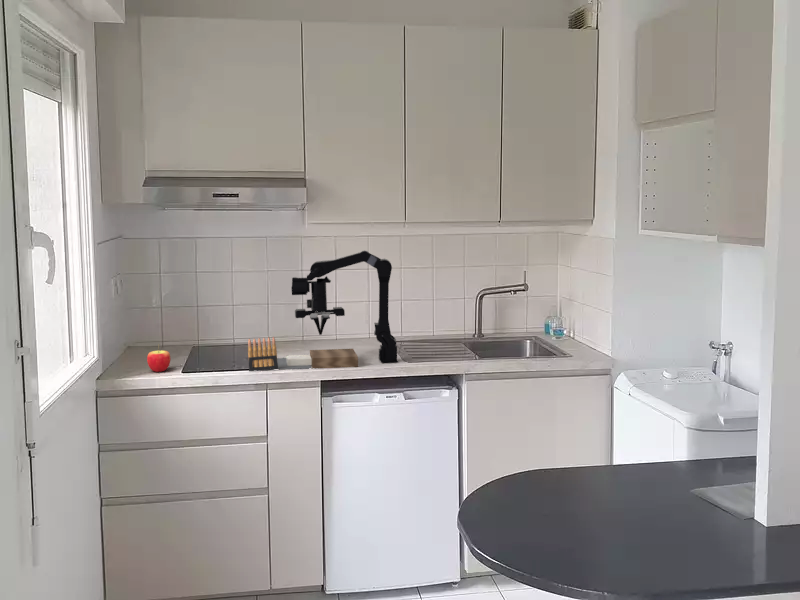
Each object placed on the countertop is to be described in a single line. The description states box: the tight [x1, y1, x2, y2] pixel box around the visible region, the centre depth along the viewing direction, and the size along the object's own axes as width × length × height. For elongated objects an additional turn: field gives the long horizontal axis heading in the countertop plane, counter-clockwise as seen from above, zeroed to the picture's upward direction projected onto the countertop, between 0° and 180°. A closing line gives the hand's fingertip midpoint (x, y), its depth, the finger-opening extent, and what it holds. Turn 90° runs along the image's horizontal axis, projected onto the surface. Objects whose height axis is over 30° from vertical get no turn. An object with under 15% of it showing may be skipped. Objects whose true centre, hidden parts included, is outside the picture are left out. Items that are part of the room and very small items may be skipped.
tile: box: [285, 354, 312, 366], centre depth 312 cm, size 9×7×2 cm
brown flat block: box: [309, 348, 359, 369], centre depth 314 cm, size 17×16×4 cm
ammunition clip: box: [247, 336, 278, 372], centre depth 302 cm, size 11×2×12 cm, turn 99°
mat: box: [277, 357, 312, 370], centre depth 313 cm, size 14×20×1 cm
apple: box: [146, 343, 171, 373], centre depth 301 cm, size 8×8×10 cm
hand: (320, 334), depth 315 cm, fingers closed
